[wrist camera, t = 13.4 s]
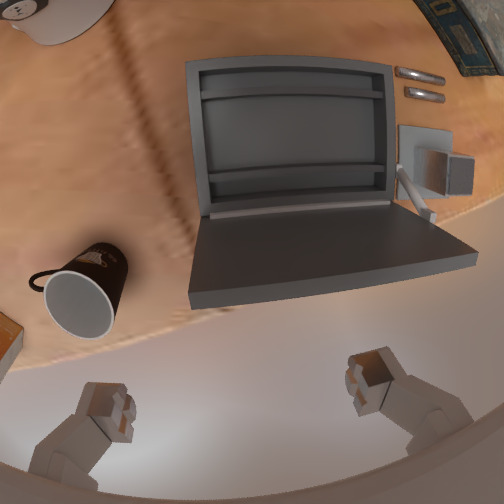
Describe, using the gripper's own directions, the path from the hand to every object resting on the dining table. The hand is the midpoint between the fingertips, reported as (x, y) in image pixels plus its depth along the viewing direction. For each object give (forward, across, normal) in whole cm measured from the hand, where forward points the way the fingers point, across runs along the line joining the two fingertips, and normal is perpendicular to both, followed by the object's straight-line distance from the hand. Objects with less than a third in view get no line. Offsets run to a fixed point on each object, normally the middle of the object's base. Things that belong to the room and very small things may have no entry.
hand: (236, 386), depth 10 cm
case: (+26, -9, -7) cm, 29 cm away
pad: (+26, -28, -2) cm, 38 cm away
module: (+26, -28, -2) cm, 38 cm away
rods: (+27, -27, -14) cm, 40 cm away
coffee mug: (+27, +17, +6) cm, 32 cm away
